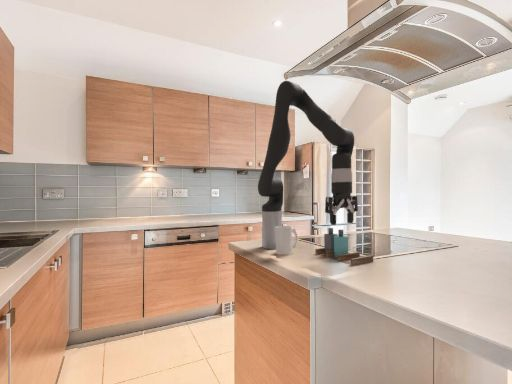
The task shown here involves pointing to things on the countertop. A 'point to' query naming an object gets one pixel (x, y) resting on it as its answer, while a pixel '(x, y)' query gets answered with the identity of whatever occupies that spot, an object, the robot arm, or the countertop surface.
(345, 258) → the wooden slotted rack
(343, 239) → the teal plug
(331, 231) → the charcoal plug
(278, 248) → the mug
